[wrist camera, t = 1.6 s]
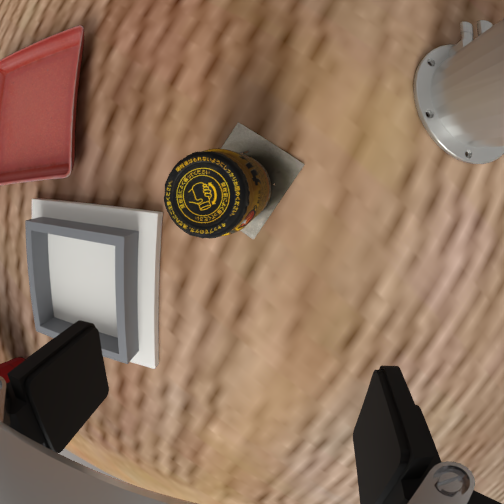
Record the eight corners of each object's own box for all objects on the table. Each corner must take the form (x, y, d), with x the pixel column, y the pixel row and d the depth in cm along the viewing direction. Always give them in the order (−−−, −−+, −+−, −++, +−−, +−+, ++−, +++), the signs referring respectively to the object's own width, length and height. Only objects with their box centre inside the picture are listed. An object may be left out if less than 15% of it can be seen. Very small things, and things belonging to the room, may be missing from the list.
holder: (38, 197, 34) (15, 201, 29) (162, 212, 32) (144, 217, 28) (47, 327, 38) (28, 339, 34) (158, 363, 36) (144, 383, 32)
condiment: (191, 197, 31) (132, 211, 19) (238, 122, 29) (201, 92, 17) (253, 239, 31) (227, 278, 20) (304, 164, 29) (308, 157, 17)
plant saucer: (98, 30, 28) (83, 22, 25) (87, 176, 32) (69, 177, 29) (6, 67, 30) (-10, 64, 27) (-2, 186, 35) (-19, 188, 32)
